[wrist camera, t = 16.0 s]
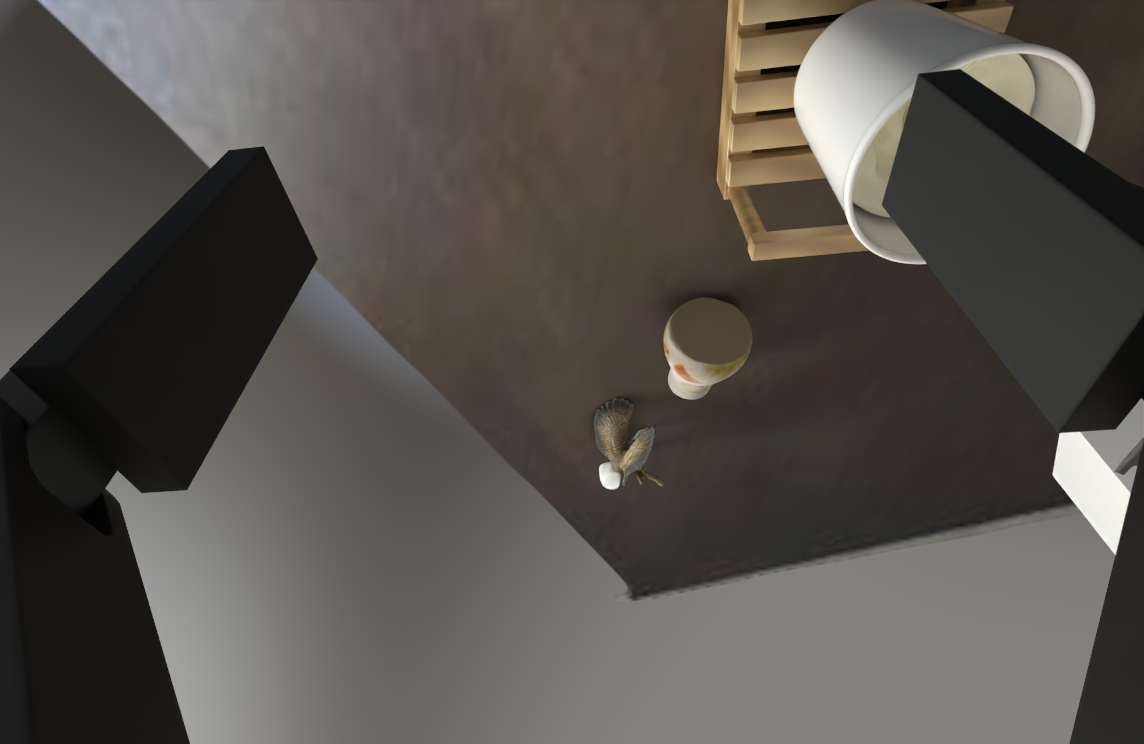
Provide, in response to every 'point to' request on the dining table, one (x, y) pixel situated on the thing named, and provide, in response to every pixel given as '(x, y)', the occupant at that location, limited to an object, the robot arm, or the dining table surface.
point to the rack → (753, 92)
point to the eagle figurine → (622, 445)
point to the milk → (1100, 472)
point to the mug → (705, 345)
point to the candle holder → (885, 87)
